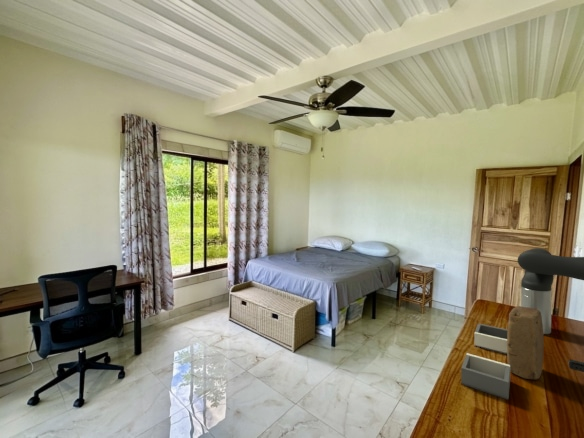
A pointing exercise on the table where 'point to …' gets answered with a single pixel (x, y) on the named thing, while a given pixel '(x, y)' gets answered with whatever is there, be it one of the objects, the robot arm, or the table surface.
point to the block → (525, 342)
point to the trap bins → (487, 363)
